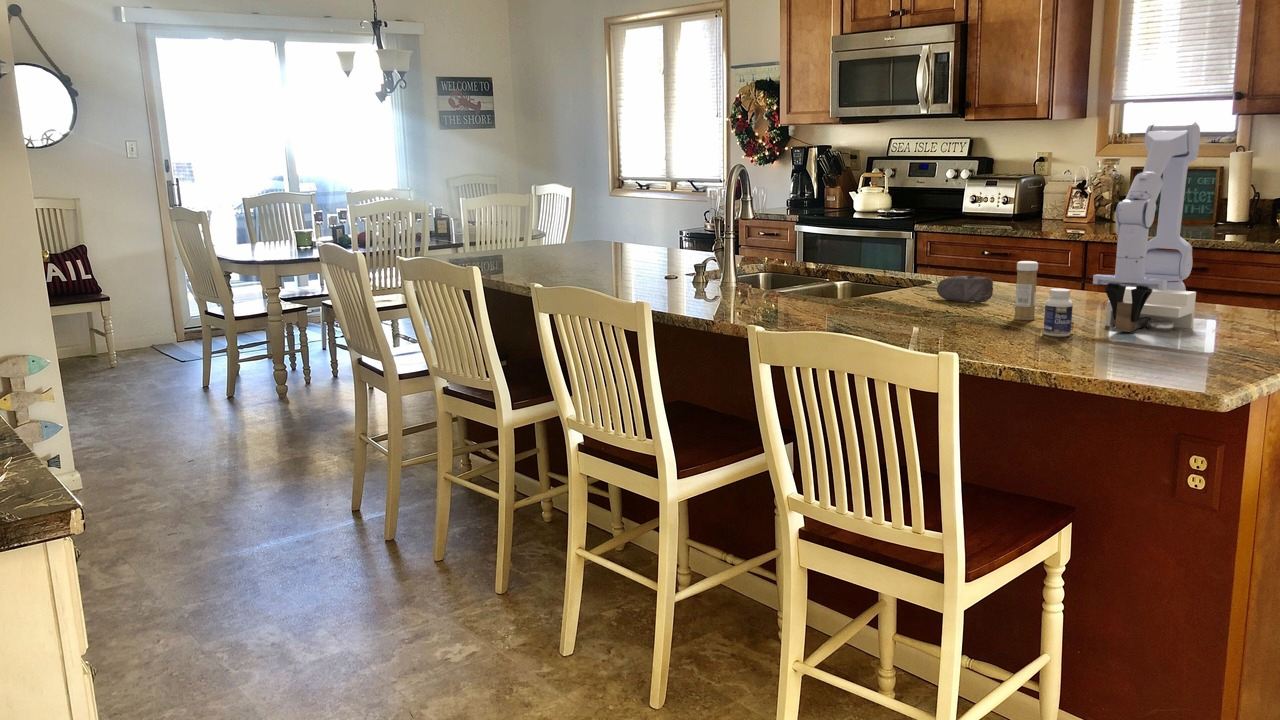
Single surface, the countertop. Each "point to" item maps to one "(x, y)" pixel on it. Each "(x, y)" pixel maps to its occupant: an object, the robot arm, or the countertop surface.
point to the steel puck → (1160, 325)
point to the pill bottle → (1058, 313)
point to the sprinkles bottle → (1026, 290)
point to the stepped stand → (1163, 307)
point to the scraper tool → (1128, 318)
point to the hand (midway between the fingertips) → (1125, 320)
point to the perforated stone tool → (966, 289)
